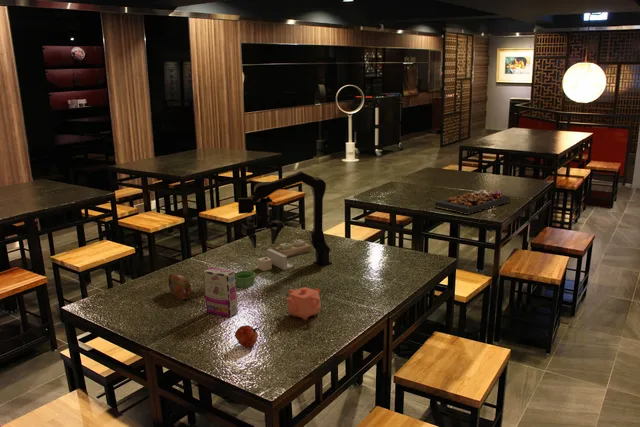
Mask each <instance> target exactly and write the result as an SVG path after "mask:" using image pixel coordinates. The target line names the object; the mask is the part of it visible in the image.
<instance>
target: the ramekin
mask: <svg viewBox="0 0 640 427" xmlns="http://www.w3.org/2000/svg"><path fill="white" fill-rule="evenodd" d="M235 278H236V288H237V287H238V288H244V289H245V288H249V287H252V286H254V285H255V278H256V273H255V272H254V271H250V270H241V271H236V272H235Z"/></svg>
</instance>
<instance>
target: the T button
mask: <svg viewBox="0 0 640 427" xmlns="http://www.w3.org/2000/svg"><path fill="white" fill-rule="evenodd" d="M293 243H294V245H295V246H297V247H300V246H304V245H305V243H306V241H304V240H302V239H297V240H293Z"/></svg>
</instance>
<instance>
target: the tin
mask: <svg viewBox="0 0 640 427" xmlns="http://www.w3.org/2000/svg"><path fill="white" fill-rule="evenodd" d="M168 286H169V291H170V292H171V293H172V295H174V296H175V297H176V298H179V299H180V300H187V299H189V298H190V297H191V295H192V288H191V283H190V280H189V279H188V278H186V277H185V276H183V275H181V274H179V273H171V274H170V275H169V276H168Z"/></svg>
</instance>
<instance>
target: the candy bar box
mask: <svg viewBox="0 0 640 427" xmlns="http://www.w3.org/2000/svg"><path fill="white" fill-rule="evenodd" d="M202 273H203V284H204V294H205V298H204V299H205V309H206V310H205V311H206V313H208V314H210V315H217V316H221V317H226V318H232V317H234V316H236V315H237V314H238V313H239V312H238V311H239V310H238V309H239V308H238V297H237V295H238V294H237V286H236V278H235V273H236V271H234V270H227V269H223V268H216V267H210V268H207V269H206V270H203V272H202Z"/></svg>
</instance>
